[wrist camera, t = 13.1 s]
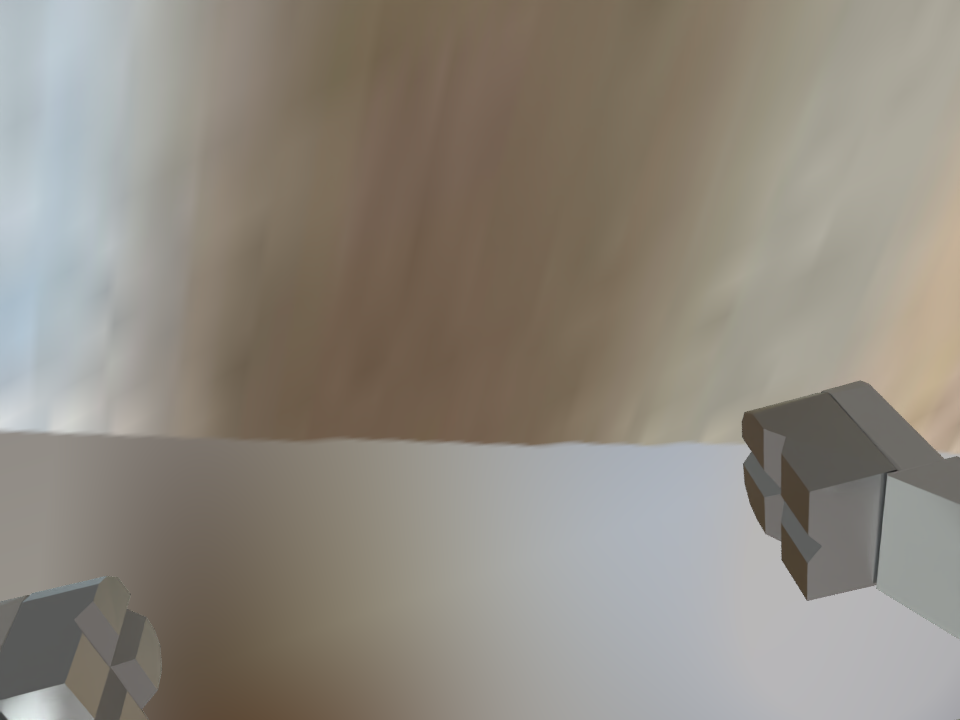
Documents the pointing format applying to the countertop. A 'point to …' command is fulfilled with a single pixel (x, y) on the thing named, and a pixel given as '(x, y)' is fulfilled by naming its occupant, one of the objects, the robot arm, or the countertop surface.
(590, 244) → the countertop surface
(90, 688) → the robot arm
